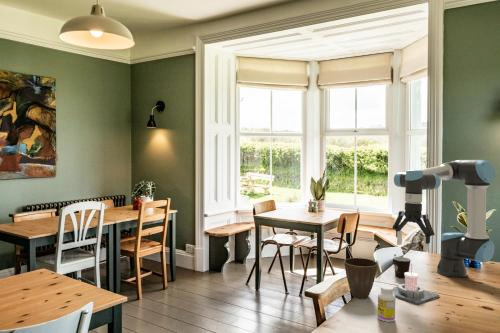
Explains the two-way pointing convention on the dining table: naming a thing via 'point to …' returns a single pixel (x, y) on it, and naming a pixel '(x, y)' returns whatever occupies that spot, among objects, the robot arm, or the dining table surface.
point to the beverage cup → (411, 280)
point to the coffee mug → (401, 266)
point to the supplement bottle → (386, 304)
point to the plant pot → (360, 276)
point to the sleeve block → (413, 294)
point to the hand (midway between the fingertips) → (412, 247)
